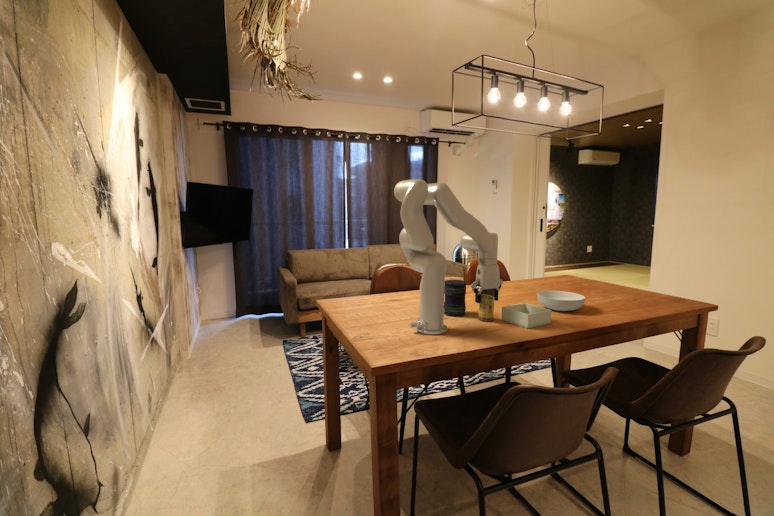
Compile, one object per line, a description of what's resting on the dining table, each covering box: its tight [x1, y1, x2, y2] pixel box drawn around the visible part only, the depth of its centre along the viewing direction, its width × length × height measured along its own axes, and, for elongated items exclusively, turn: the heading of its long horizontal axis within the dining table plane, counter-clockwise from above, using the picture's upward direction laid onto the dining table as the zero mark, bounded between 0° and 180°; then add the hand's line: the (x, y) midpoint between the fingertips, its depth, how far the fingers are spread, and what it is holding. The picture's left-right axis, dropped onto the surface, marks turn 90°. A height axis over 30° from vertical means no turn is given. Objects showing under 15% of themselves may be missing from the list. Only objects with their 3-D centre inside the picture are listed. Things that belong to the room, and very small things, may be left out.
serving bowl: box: [536, 290, 586, 312], centre depth 178 cm, size 21×21×7 cm
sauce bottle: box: [478, 289, 496, 322], centre depth 160 cm, size 6×6×20 cm
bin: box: [500, 302, 553, 330], centre depth 158 cm, size 14×14×6 cm
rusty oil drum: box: [444, 279, 467, 318], centre depth 170 cm, size 10×10×15 cm
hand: (486, 301), depth 160 cm, fingers open, 9 cm apart
